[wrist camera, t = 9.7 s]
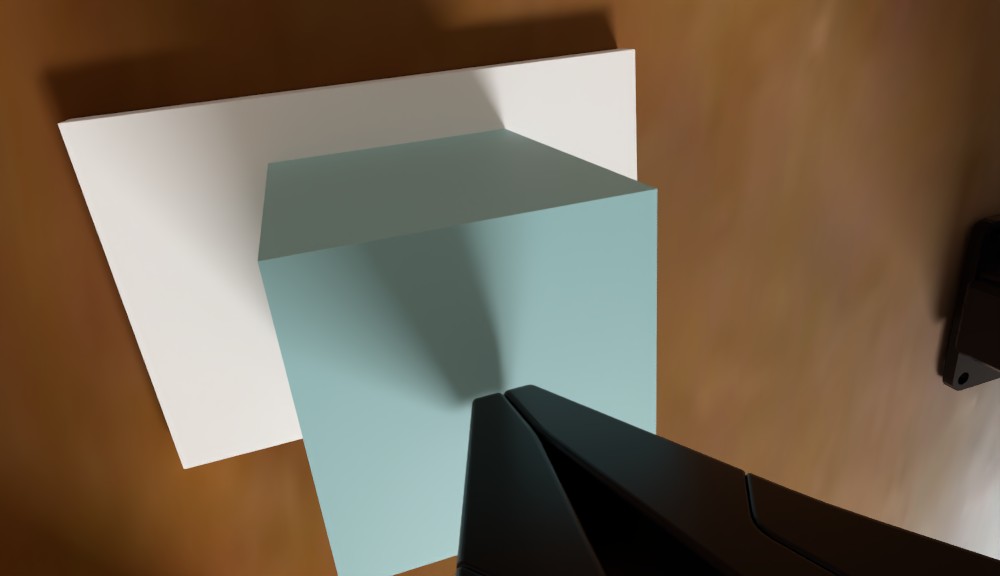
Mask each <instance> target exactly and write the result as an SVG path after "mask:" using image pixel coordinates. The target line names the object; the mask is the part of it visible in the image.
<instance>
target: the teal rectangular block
mask: <svg viewBox="0 0 1000 576" xmlns="http://www.w3.org/2000/svg"><path fill="white" fill-rule="evenodd" d="M258 265H259V269H260V273H261V277H262V281H263V285H264V289H265V293H266V296H267V300H268V304H269V308H270V312H271V316H272V320H273V324H274V328H275V331H276V335H277V339H278V343H279V347H280V351H281V355H282V359H283V363H284V367H285V370H286V374H287V378H288V382H289V386H290V390H291V394H292V398H293V402H294V405H295V409H296V413H297V417H298V421H299V425H300V429H301V433H302V437H303V440H304V444H305V448H306V452H307V456H308V460H309V464H310V468H311V472H312V475H313V479H314V483H315V487H316V491H317V495H318V499H319V503H320V507H321V510H322V514H323V518H324V522H325V526H326V530H327V534H328V538H329V542H330V545H331V549H332V553H333V557H334V561H335V565H336V569H337V573H338V576H392V575H395V574H398V573H402V572H405V571H408V570H411V569H414V568H417V567H421V566H424V565H427V564H430V563H433V562H436V561H440V560H443V559H446V558H449V557H452V556H456V555H458V546H459V536H460V525H461V515H462V504H463V494H464V483H465V473H466V462H467V452H468V441H469V431H470V420H471V410H472V402H473V400H474V399H476V398H479V397H483V396H487V395H490V394H494V393H502V394H504V392H505V391H507V390H510V389H513V388H517V387H521V386H525V385H530V384H532V385H535V386H538V387H540V388H543V389H545V390H548V391H550V392H552V393H555V394H557V395H560V396H562V397H565V398H567V399H570V400H572V401H574V402H577V403H579V404H582V405H584V406H587V407H589V408H592V409H594V410H597V411H599V412H601V413H604V414H606V415H609V416H611V417H614V418H616V419H619V420H621V421H624V422H626V423H628V424H631V425H633V426H636V427H638V428H641V429H643V430H646V431H648V432H650V433H653V434H655V435H656V338H657V189H656V188H654V187H651V186H649V185H646V184H644V183H641V182H639V181H636V180H634V179H631V178H629V177H626V176H624V175H621V174H618V173H616V172H613V171H611V170H608V169H606V168H603V167H601V166H598V165H596V164H593V163H591V162H588V161H586V160H583V159H581V158H578V157H575V156H573V155H570V154H568V153H565V152H563V151H560V150H558V149H555V148H553V147H550V146H548V145H545V144H543V143H540V142H537V141H535V140H532V139H530V138H527V137H525V136H522V135H520V134H517V133H515V132H512V131H510V130H507V129H500V130H493V131H486V132H479V133H472V134H466V135H459V136H452V137H445V138H438V139H431V140H424V141H417V142H411V143H404V144H397V145H390V146H383V147H376V148H369V149H363V150H356V151H349V152H342V153H335V154H328V155H321V156H314V157H308V158H301V159H294V160H287V161H280V162H273V163H268V169H267V178H266V187H265V197H264V206H263V215H262V224H261V234H260V243H259V252H258Z"/></svg>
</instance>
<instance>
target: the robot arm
mask: <svg viewBox="0 0 1000 576" xmlns="http://www.w3.org/2000/svg"><path fill="white" fill-rule="evenodd" d="M998 378H1000V215H996V216H992V217H988V218H985V219H982V220H981V221H979V222H978V223H977V224H976V226H975V227H974V229H973V231H972V234H971V238H970V243H969V248H968V253H967V258H966V263H965V268H964V273H963V278H962V283H961V288H960V293H959V298H958V303H957V308H956V313H955V318H954V323H953V328H952V333H951V337H950V342H949V347H948V352H947V357H946V362H945V367H944V372H943V383H944V384H945V385H947V386H949V387H951V388H953V389H955V390H957V391H959V390H963V389H966V388H969V387H973V386H976V385H979V384H982V383H985V382H988V381H991V380H994V379H998ZM455 576H1000V560H997V559H994V558H991V557H988V556H985V555H982V554H979V553H976V552H973V551H969V550H966V549H963V548H960V547H957V546H954V545H951V544H948V543H945V542H942V541H939V540H936V539H933V538H930V537H926V536H923V535H920V534H917V533H914V532H911V531H908V530H905V529H902V528H899V527H896V526H893V525H890V524H887V523H884V522H880V521H878V520H875V519H872V518H869V517H866V516H863V515H860V514H857V513H854V512H851V511H848V510H846V509H843V508H840V507H837V506H834V505H831V504H828V503H825V502H823V501H820V500H817V499H815V498H812V497H810V496H807V495H804V494H802V493H799V492H797V491H794V490H791V489H789V488H786V487H784V486H781V485H778V484H776V483H774V482H771V481H769V480H766V479H764V478H761V477H759V476H756V475H754V474H752V473H748V474H747V475H746V476H745V472H744V471H743V470H741V469H739V468H736V467H734V466H731V465H729V464H726V463H724V462H722V461H719V460H717V459H714V458H712V457H709V456H707V455H704V454H702V453H700V452H697V451H695V450H692V449H690V448H687V447H685V446H682V445H680V444H677V443H675V442H673V441H670V440H668V439H665V438H663V437H660V436H658V435H655V434H653V433H650V432H648V431H646V430H643V429H641V428H638V427H636V426H633V425H631V424H628V423H626V422H624V421H621V420H619V419H616V418H614V417H611V416H609V415H606V414H604V413H601V412H599V411H597V410H594V409H592V408H589V407H587V406H584V405H582V404H579V403H577V402H574V401H572V400H570V399H567V398H565V397H562V396H560V395H557V394H555V393H552V392H550V391H548V390H545V389H543V388H540V387H538V386H535V385H532V384H530V385H525V386H521V387H517V388H513V389H510V390H507V391H505V392H504V394H502V393H494V394H490V395H487V396H483V397H479V398H476V399H474V400H473V402H472V410H471V420H470V431H469V441H468V452H467V462H466V473H465V483H464V494H463V504H462V515H461V525H460V536H459V546H458V557H457V570H456V573H455Z"/></svg>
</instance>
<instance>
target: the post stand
mask: <svg viewBox="0 0 1000 576" xmlns="http://www.w3.org/2000/svg"><path fill="white" fill-rule="evenodd" d="M58 126H59V129H60V132H61V134H62V137H63V140H64V142H65V145H66V148H67V151H68V153H69V156H70V159H71V162H72V164H73V167H74V170H75V173H76V175H77V178H78V181H79V184H80V186H81V189H82V192H83V194H84V197H85V200H86V203H87V205H88V208H89V211H90V214H91V216H92V219H93V222H94V225H95V227H96V230H97V233H98V236H99V238H100V241H101V244H102V246H103V249H104V252H105V255H106V257H107V260H108V263H109V266H110V268H111V271H112V274H113V277H114V279H115V282H116V285H117V287H118V290H119V293H120V296H121V298H122V301H123V304H124V307H125V309H126V312H127V315H128V318H129V320H130V323H131V326H132V329H133V331H134V334H135V337H136V339H137V342H138V345H139V348H140V350H141V353H142V356H143V359H144V361H145V364H146V367H147V370H148V372H149V375H150V378H151V380H152V383H153V386H154V389H155V391H156V394H157V397H158V400H159V402H160V405H161V408H162V411H163V413H164V416H165V419H166V422H167V424H168V427H169V430H170V432H171V435H172V438H173V441H174V443H175V446H176V449H177V452H178V454H179V457H180V460H181V463H182V465H183V468H184V469H187V468H191V467H194V466H198V465H202V464H206V463H210V462H214V461H218V460H221V459H225V458H229V457H233V456H237V455H241V454H245V453H248V452H252V451H256V450H260V449H264V448H268V447H271V446H275V445H279V444H283V443H287V442H291V441H295V440H298V439H302V438H303V437H302V433H301V429H300V425H299V421H298V417H297V413H296V409H295V405H294V402H293V398H292V394H291V390H290V386H289V382H288V378H287V374H286V370H285V367H284V363H283V359H282V355H281V351H280V347H279V343H278V339H277V335H276V331H275V328H274V324H273V320H272V316H271V312H270V308H269V304H268V300H267V296H266V293H265V289H264V285H263V281H262V277H261V273H260V269H259V265H258V252H259V243H260V234H261V224H262V215H263V206H264V197H265V187H266V178H267V169H268V163H273V162H280V161H287V160H294V159H301V158H308V157H314V156H321V155H328V154H335V153H342V152H349V151H356V150H363V149H369V148H376V147H383V146H390V145H397V144H404V143H411V142H417V141H424V140H431V139H438V138H445V137H452V136H459V135H466V134H472V133H479V132H486V131H493V130H500V129H507V130H510V131H512V132H515V133H517V134H520V135H522V136H525V137H527V138H530V139H532V140H535V141H537V142H540V143H543V144H545V145H548V146H550V147H553V148H555V149H558V150H560V151H563V152H565V153H568V154H570V155H573V156H575V157H578V158H581V159H583V160H586V161H588V162H591V163H593V164H596V165H598V166H601V167H603V168H606V169H608V170H611V171H613V172H616V173H618V174H621V175H624V176H626V177H629V178H631V179H634V180H636V181H637V152H636V88H635V49H613V50H605V51H597V52H589V53H582V54H574V55H566V56H558V57H550V58H543V59H535V60H527V61H519V62H511V63H504V64H496V65H488V66H480V67H472V68H464V69H457V70H449V71H441V72H433V73H425V74H418V75H410V76H402V77H394V78H386V79H379V80H371V81H363V82H355V83H347V84H340V85H332V86H324V87H316V88H308V89H300V90H293V91H285V92H277V93H269V94H261V95H254V96H246V97H238V98H230V99H222V100H215V101H207V102H199V103H191V104H183V105H175V106H168V107H160V108H152V109H144V110H136V111H129V112H121V113H113V114H105V115H97V116H90V117H82V118H74V119H69V120H66V121H63V122H61V123H58Z"/></svg>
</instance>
